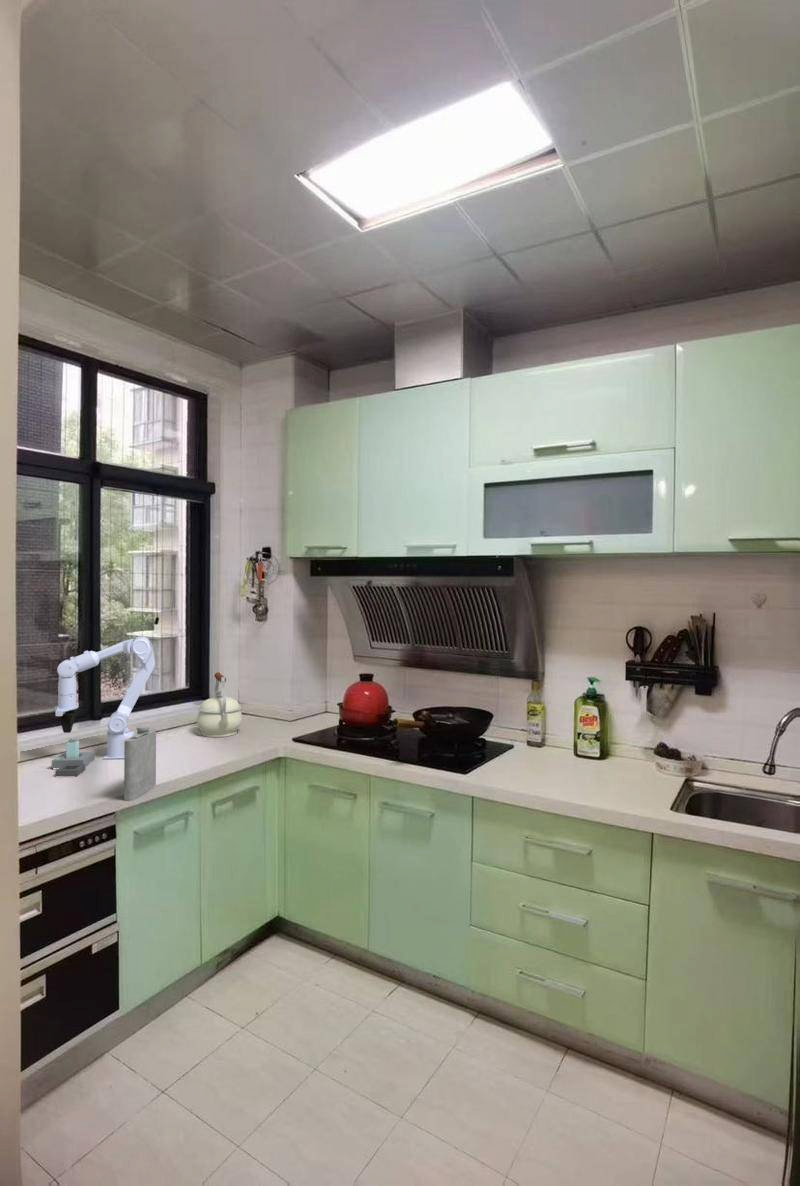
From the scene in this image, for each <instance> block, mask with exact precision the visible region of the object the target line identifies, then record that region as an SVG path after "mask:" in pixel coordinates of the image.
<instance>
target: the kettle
mask: <svg viewBox="0 0 800 1186" xmlns="http://www.w3.org/2000/svg"><path fill="white" fill-rule="evenodd" d="M214 678H215V684H214V685H215V686H214V697H213V696H212V697H210V698H208V699H205V700H204V701H203V702H202V703H201V705H200V706H198V709H197V710H198V711H199V712H198V714H197V718H196V724H197V728H199V730H200V731H201V734H202V735H203V736H204V737H208V738H226V736H227V737H231V735H232V736H235V735H236V734H237V733H238V730H239V728H240V727H241V726H242V724H243V715H242V714H243V713H242V711H241V710H242V706H241V705H240V703H239V702H238V700H237V699H235V698H233V697H230V696H227V695H226V686H225V685H226V682H227V678H226V677H225V676H224V675H222V673H220V672H215V673H214ZM219 684H221V685H219ZM219 686H220V687H221V688H220V689H221V690H219Z"/></svg>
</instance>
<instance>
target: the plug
mask: <svg viewBox="0 0 800 1186" xmlns="http://www.w3.org/2000/svg"><path fill="white" fill-rule="evenodd" d="M65 748H66V751H65V752H66V758H79V752H80V740H78V739H77V738H70V739H69V740H68V741H67V742H66V746H65Z"/></svg>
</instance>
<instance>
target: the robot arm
mask: <svg viewBox="0 0 800 1186" xmlns="http://www.w3.org/2000/svg"><path fill="white" fill-rule="evenodd" d="M121 653H125V654H131V653H133V654H134V656H135V657H137V660H138V662H139V664H140V666H139V668H138V670H137V672H136V674H135V676H134V678H133V680H132V681H131V684H130V686H129V687H128V689H127V691H126V693H125V695H124V696H123V698H122V700H121V702H120V704H119V706H118V707H117V710H115V711H114V712H112V714H111V715H110V716H109V720H108V721H107V729H108V730H107V731H106V733H107V735H106V736H107V738H106V743H107V744H106V747H107V748H106V755H104V756H103V757H102V759H103V760H106V759H107V760H110V759H113V760H114V759H115V760H117V759H121V760H122V759H124V740H126V739H128V738H130V737H132V736H134V735H136V734H137V732H135V731H130V729H129V728H128V726H127V725H128V722H129V717H130V714H131V712H132V710H133V709H134V706H135V705H136V703H137V700H138V699H139V698H140V695H141V694H142V692H143V690H144V688H145V686H146V685H147V684H146V683H147V681H148V680H149V678H150V676H151V674H152V672H153V670H155V669H154V668H155V665H156V660H155V652H154V646H153V644H152V642H151V641H150V639H149V638H148V637H146V636H137V637H136V638H131V639H126V640H123V641H121V642H118V643H116V644H114V645H111V646H108V647H107V648H104V649H102V650H99V651H93V650H90V651H89V650H85V651H83V653H82V654H79V655H77V656H71V657H69V659H65V660H63V661H62V662H60V663H59V665H58V666H57V670H56V671H57V674H58V682H57V683H58V685H57V686H58V687H57V689H58V690H57V692H58V694H57V697H58V699H57V704H58V705H56V706H54V710H55V717H56V718H58V720H59V722H60V725H61V729H62V731H63V733H64V734H66V733H67V734H69V733H71V732H72V729H73V727H74V722H75V719H76V717H77V715H78V713H79V711H78V710H77V709H78V708H79V702H77V682H78V681H77V673H81V672H84V671H87V670H89V669H92V668H94V667H97V666H98V665H99V664H100V661H103V660H105V659H107V658H110V657H112V656H117V655H119V654H121Z"/></svg>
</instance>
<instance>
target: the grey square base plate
mask: <svg viewBox="0 0 800 1186" xmlns="http://www.w3.org/2000/svg"><path fill="white" fill-rule="evenodd" d="M85 766H86V764H73V765H63V766H62V767H60V768H59V769H55V770H54V771H55V772H54V775H55V776H75V777H78V775H79V774H80V773H81V774H83V773H84V772H85V771H86V767H87V766H86V767H85ZM84 770H85V771H84ZM83 771H84V772H83ZM81 774H80V775H81ZM80 775H79V776H80Z"/></svg>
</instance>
